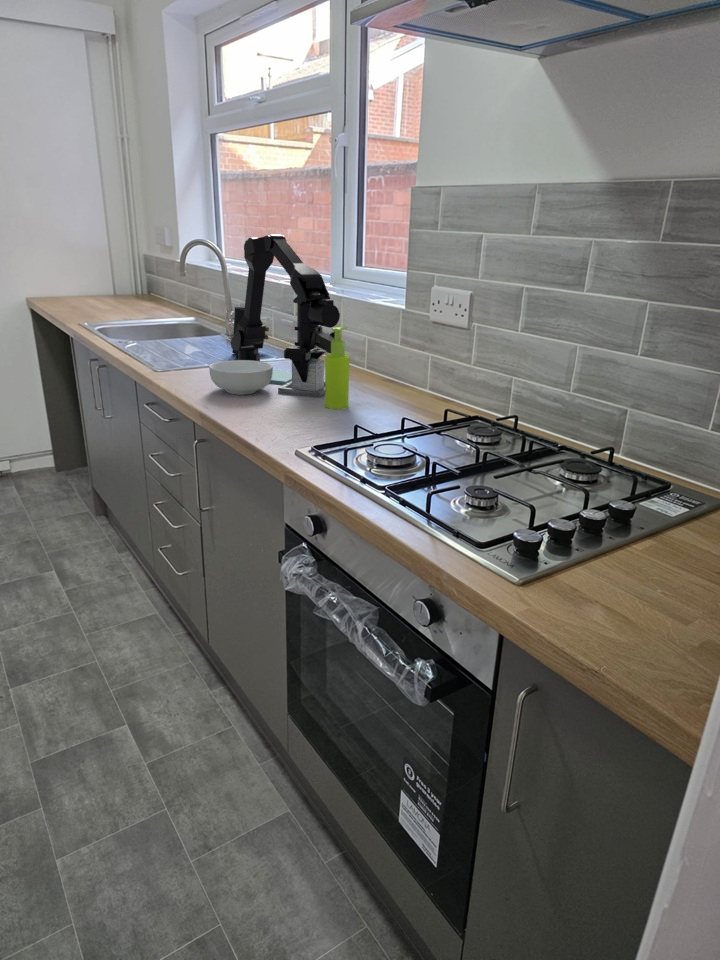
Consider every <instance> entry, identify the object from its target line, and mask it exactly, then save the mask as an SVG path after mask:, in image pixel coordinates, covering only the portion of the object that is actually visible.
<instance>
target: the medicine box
mask: <svg viewBox="0 0 720 960" xmlns="http://www.w3.org/2000/svg"><path fill="white" fill-rule="evenodd" d="M291 372H292V388H293V389H302V390H310V391H319V390H321V389H323V388H324V382H325V361H324V359H320V358H319V359H313V360H312V361H311V362H310V363H309V367H308V375H307V381H306V382H302V380H301V378H300V376H299V374H298V371H297V369H296V367H295V366H294V364H293V362H292V361H291Z"/></svg>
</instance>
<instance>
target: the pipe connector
mask: <svg viewBox="0 0 720 960" xmlns="http://www.w3.org/2000/svg"><path fill="white" fill-rule="evenodd" d="M244 309H245V307H241V306H240V307H239V306H235V307H234V317H233V332H232V333H233V336H234V334H235V332H236V329H237V324H238V322H239V321H240V319H241V318H242V317H243V315H244ZM264 326H265V327H266V331H265V332H269V333H270V327H269V326H268V325H264ZM233 336H232V337H233ZM264 340H269V335H268V334H267V333H265V339H264ZM232 354H234V355H236V350H234V349H232Z"/></svg>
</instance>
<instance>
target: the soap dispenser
mask: <svg viewBox="0 0 720 960" xmlns="http://www.w3.org/2000/svg"><path fill="white" fill-rule="evenodd" d="M347 329H348V327H347V326H340V325H339V326H337V325H335V326H334V327H332V332H334V331H335V340H333V341H331V353H328V354H326V355H325V371H324V382H325V395H324V407H325V408H327V409H331V410H343V409H347V408H349V391H350V390H349V389H350V388H349V387H350V386H349V385H350V355H349V354H346V353H345V352H346V351H345V350H346V349H345V347H346V346H345V344H346V343H345V342H346V341H344V339H342V337H343V336H342V334H343V333H342V332H343V331H344V330H347Z"/></svg>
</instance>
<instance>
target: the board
mask: <svg viewBox="0 0 720 960" xmlns="http://www.w3.org/2000/svg"><path fill="white" fill-rule="evenodd" d="M290 381H292V371H287V370H280V369H279V370H278V369H273V373H272V378H271V381H270V382H269V384H272V385H273V384H274V385H281V386H283V385H285V384H287V383H289V382H290Z"/></svg>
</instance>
